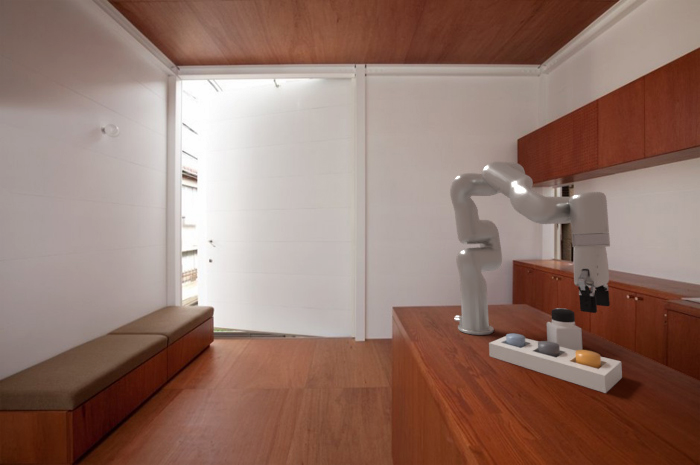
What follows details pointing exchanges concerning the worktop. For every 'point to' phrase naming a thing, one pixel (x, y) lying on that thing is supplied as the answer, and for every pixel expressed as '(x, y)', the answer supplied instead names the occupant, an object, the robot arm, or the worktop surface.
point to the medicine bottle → (564, 329)
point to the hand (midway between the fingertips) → (595, 308)
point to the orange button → (588, 358)
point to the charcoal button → (549, 348)
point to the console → (559, 364)
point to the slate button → (515, 340)
